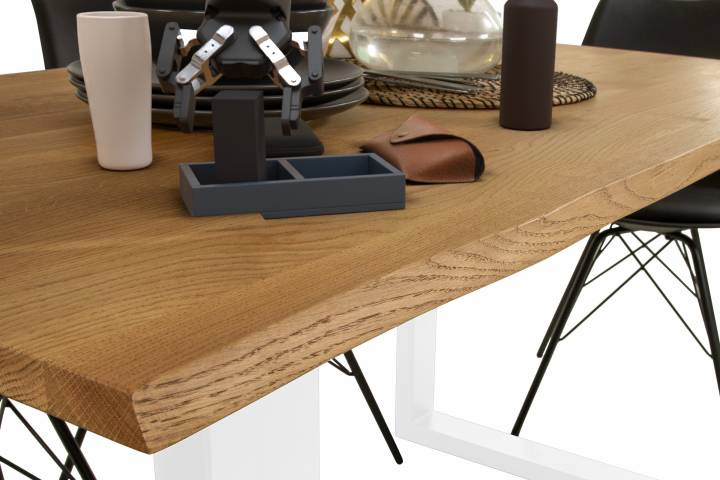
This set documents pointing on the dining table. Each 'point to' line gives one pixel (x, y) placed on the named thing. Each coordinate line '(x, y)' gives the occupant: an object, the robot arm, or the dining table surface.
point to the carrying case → (290, 140)
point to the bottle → (528, 64)
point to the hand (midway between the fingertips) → (236, 129)
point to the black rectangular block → (239, 136)
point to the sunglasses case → (428, 152)
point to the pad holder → (297, 187)
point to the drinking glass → (118, 85)
